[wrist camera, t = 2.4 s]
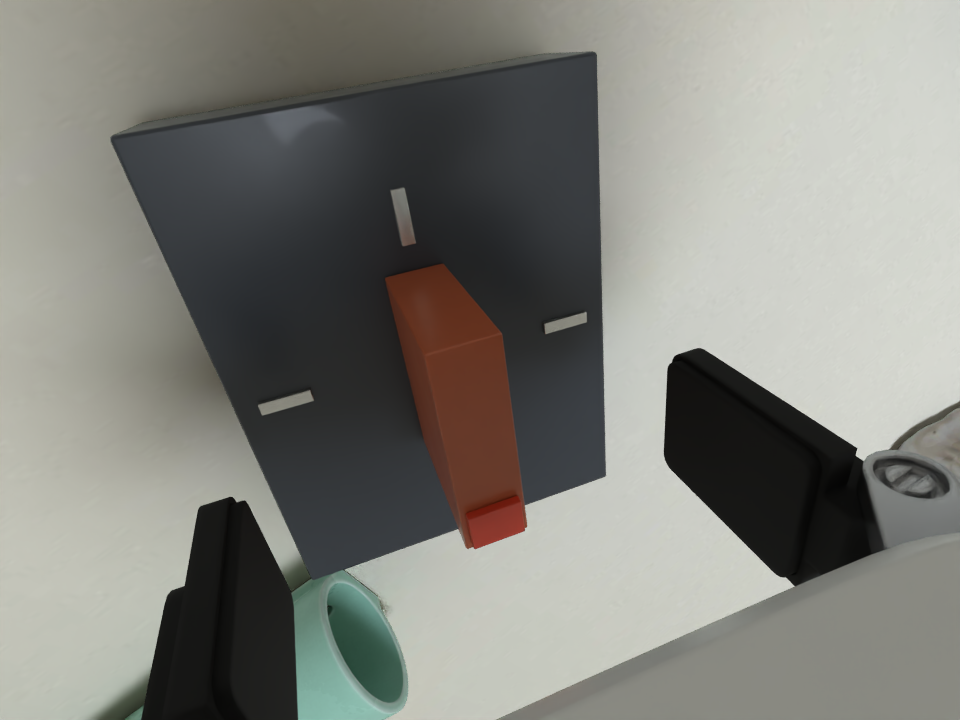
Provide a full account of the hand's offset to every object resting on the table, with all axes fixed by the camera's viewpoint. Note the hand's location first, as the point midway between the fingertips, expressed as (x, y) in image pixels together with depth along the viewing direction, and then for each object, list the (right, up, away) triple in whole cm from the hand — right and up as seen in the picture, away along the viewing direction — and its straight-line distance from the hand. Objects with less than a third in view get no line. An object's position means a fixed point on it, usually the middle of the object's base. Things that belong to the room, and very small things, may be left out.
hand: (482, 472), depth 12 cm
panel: (-2, +4, +6) cm, 8 cm away
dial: (-1, +2, +4) cm, 5 cm away
